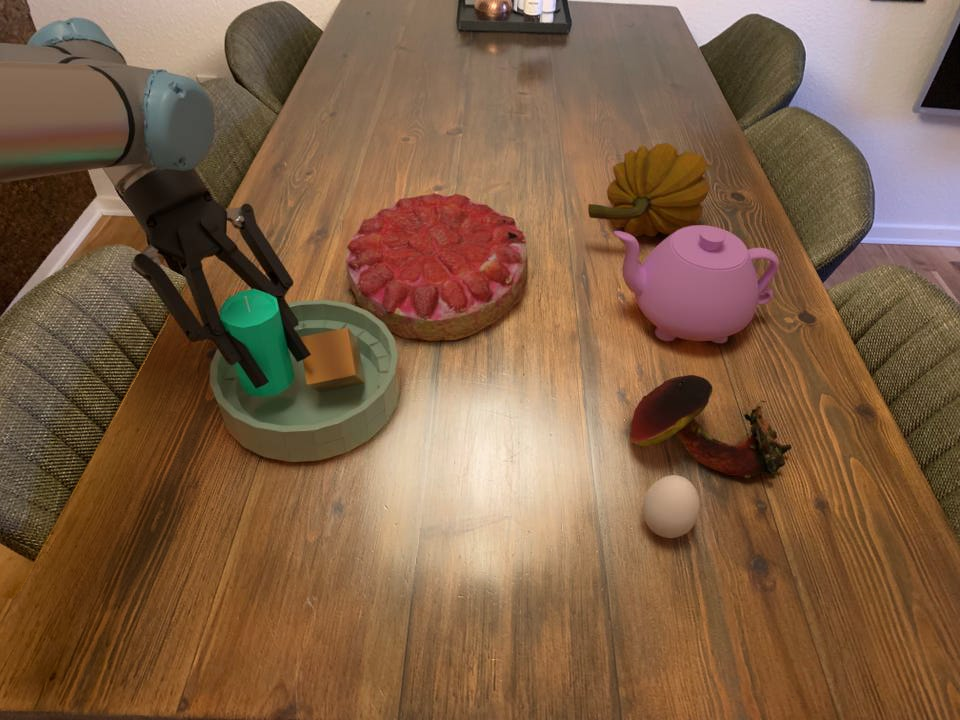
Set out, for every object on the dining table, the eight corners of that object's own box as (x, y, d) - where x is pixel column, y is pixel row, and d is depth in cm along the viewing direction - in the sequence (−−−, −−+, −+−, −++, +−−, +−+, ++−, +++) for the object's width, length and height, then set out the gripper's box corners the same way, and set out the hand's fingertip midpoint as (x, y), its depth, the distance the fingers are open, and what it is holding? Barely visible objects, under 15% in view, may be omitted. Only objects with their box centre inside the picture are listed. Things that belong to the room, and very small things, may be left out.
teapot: (602, 354, 90) (621, 268, 80) (593, 277, 101) (608, 193, 91) (776, 361, 90) (815, 276, 80) (747, 284, 101) (779, 200, 91)
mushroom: (712, 482, 86) (636, 386, 86) (804, 440, 79) (720, 334, 78) (686, 543, 77) (600, 435, 77) (788, 502, 69) (692, 381, 69)
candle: (271, 404, 77) (248, 323, 69) (229, 385, 79) (201, 303, 71) (305, 369, 81) (288, 289, 73) (264, 351, 83) (242, 270, 74)
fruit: (703, 221, 115) (700, 260, 98) (604, 214, 119) (584, 250, 102) (715, 133, 109) (714, 157, 92) (610, 129, 113) (590, 152, 96)
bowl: (253, 495, 74) (241, 461, 70) (202, 369, 86) (189, 333, 82) (430, 422, 81) (429, 387, 77) (359, 316, 94) (354, 280, 90)
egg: (650, 495, 75) (666, 451, 70) (697, 521, 73) (717, 478, 68) (627, 531, 72) (641, 488, 67) (676, 560, 70) (695, 517, 65)
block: (319, 392, 83) (306, 385, 78) (311, 347, 84) (299, 337, 79) (365, 383, 83) (355, 375, 78) (357, 338, 84) (347, 327, 79)
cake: (491, 209, 110) (491, 165, 104) (557, 317, 95) (561, 273, 89) (334, 247, 105) (324, 202, 99) (376, 368, 89) (367, 324, 83)
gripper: (222, 159, 79) (335, 336, 83) (66, 225, 70) (202, 421, 74) (239, 131, 73) (361, 323, 77) (70, 199, 64) (219, 415, 68)
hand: (283, 371), depth 76 cm, fingers closed on candle, 5 cm apart
